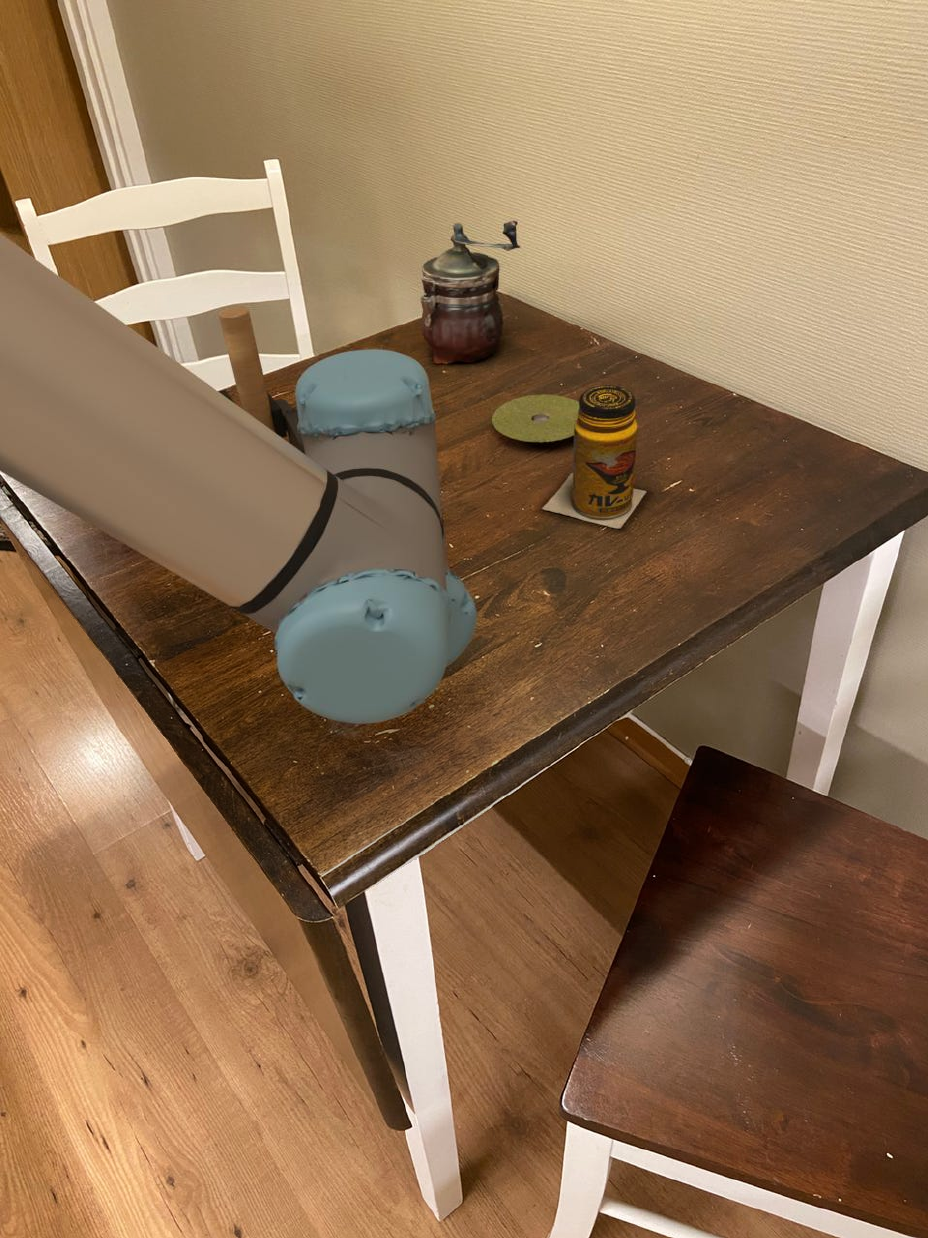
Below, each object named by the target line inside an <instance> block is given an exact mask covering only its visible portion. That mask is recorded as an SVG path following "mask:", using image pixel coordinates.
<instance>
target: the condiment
mask: <svg viewBox="0 0 928 1238" xmlns="http://www.w3.org/2000/svg"><path fill="white" fill-rule="evenodd" d="M578 398H579V399H578V402H579V411H578V419H577V420H576V422H575V426H574V435H573V461H572V463H573V464H572V466H573V467H572V468H573V469H572V472H571V473H570V474H569V475H568V476H567V479H566V480H565V481H564V482H563V483H562V485H561V486H560V488H559V489H558V490H557V491H556V492H555V493H554V495H552V496H551V498H550V499H549V500H548V502H547V503H546V504H544V506H543V507H542V508H541V510H544V511H549V512H552V513H556V514H561V515H564V516H569V517H572V518H575V519H578V520H581V521H585V522H588V523H589V522H590V523H592V524H598V525H600V526H606V527H609V528H613V529H622V527H623V526H624V524H625V523H626V522H627V520H628V519H629V518H630V517H631V515H632V514H633V512H634V511H635V510H636V508H637V506H638V505H639V504H640V502H641V501H642V499H643V497H644V496H645V495H646V494H647V490H643V489H637V488H634V485H635V472H636V463H637V462H636V461H637V459H636V458H637V454H636V453H637V445H638V435H639V434H638V433H639V425H638V422H637V420H636V398H635V396H634V394H633V393H632V392H631V391H630V390H629V389H627V388H624V387H622V386H618V385H613V384H611V385H610V384H604V385H598V386H593V387H590V388H588V389H586V390H585V391H583V392H582V394H580V395H579V397H578Z"/></svg>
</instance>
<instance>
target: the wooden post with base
mask: <svg viewBox="0 0 928 1238" xmlns="http://www.w3.org/2000/svg"><path fill="white" fill-rule="evenodd" d="M218 318H219V322H220V326H221V330H222V335H223V338H224V342H225V346H226V349H227V355H228V359H229V363H230V366H231V370H232V375H233V379H234V382H235V386H236V391H237V396H238V399H239V403H240V408H241V409H243V410H244V411H246V412H247V413H248V414H250V415H251V416H252V417H254V418H255V419H257V420H258V421H259V422H261V423H262V424H264V425H265V426H266V427H268V428H269V429H270V430H272V431H273V432H275V433H276V430H275V425H274V421H273V416H272V412H271V407H270V403H269V398H268V394H267V392H268V391H267V390H268V389H267V384H266V381H265V376H264V372H263V368H262V363H261V358H260V354H259V349H258V345H257V340H256V337H255V331H254V328H253V322H252V318H251V313H250V309H249V308H248V307H247V306H244V305H243V306H242V305H233V306H229V307H225V308H223V309H221V310H220V311H219V312H218Z"/></svg>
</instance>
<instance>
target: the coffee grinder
mask: <svg viewBox="0 0 928 1238" xmlns="http://www.w3.org/2000/svg"><path fill="white" fill-rule="evenodd" d="M518 224H519V223H518V221H516V220H511V221H507V222H504V223H503V231H502V235H504V236H506V237H507V239H508V240H509V242H510V243H486V242H485V243H484V242H479V241H474V240H471V239H469V238H468V236H467V235H465V233H464V225H463V224H462V223H460V222H456V223H454V224H453V226H452V230H453V234H452V235H451V236H450V241H451V243H452V244H453V247H452V248H448V249H447V250H444V251H443V252H442V253H441V254H439V256H436V257H433V258H431V259H428V260H427V261H426V262H425V263H424V264H423V265H422V266H421V272H422V279H421V283H422V289H423V295H421V297H420V303H421V308H422V314H421V325H422V326H421V333H422V337H423V339H424V340H425V342H426V343H427V344H428V345H429V347H430V348H431V351H432V355H433V362H434V364H437V365H440V364H443V365H448V364H452V363H455V362H463V363H470V364H474V363H476V362H477V361H478V360H482V359H486V358H488V357H489V356H494V354H495V352H496V351H497V348H498V345H499V343H500V339H501V336H502V335H503V325H504V315H503V311H502V308H501V306H500V303H499V300H500V298H499V295H498V294H497V291H498V290H499V285H500V284H499V283H500V271H501V270H500V263H499V261H498V260H497V259H496V258H495V257H492V256H489V255H487V254H484V253H481V252H478V251H477V252H475V251H471V250H470V249H469V248H468V247H467V246H472V247H473V246H474V247H481V248H482V247H487V248H496V249H502V250H505V251H506V252H509V251H513V250H515V249H521V246H520V244H518V241H517V238H518V237H517V236H518V235H517V226H518Z"/></svg>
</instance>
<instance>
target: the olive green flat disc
mask: <svg viewBox="0 0 928 1238" xmlns="http://www.w3.org/2000/svg"><path fill="white" fill-rule="evenodd" d="M578 411H579V400H578V401H577V400H575V399H573V398H569V397H567V396H563V395H558V394H557V395H556V394H546V393H545V394H544V393H543V394H531V395H526V396H519V397H517V398H514V399H511V400H509V401H506V402H505V403H503V404H502V405H500V406H498V407H497V409H495V411H494V412H493V413H492V416H491V424H492V425H493V427H494V429H495V430H496V431H497V432H498V433H500V434H501V435H503V436H505V437H508V438H510V439H514V440H517V441H522V442H524V443H525V442H527V443H529V442H530V443H545V442H546V443H549V442H551V443H554V442H556V441H562V440H564V439H569V438H571V437H574V426H575V422H576V420H577V419H578Z"/></svg>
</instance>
